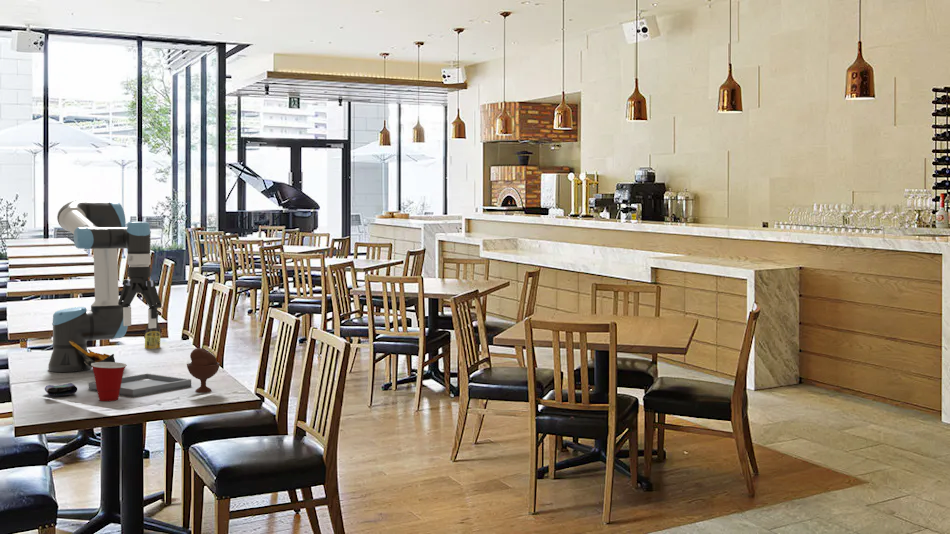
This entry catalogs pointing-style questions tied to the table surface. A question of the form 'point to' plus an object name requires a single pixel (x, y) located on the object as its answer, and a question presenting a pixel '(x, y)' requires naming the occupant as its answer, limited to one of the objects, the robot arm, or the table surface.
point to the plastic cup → (108, 379)
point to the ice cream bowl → (202, 367)
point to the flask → (61, 389)
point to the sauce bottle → (152, 336)
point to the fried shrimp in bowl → (93, 356)
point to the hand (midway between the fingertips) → (139, 327)
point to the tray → (147, 384)
